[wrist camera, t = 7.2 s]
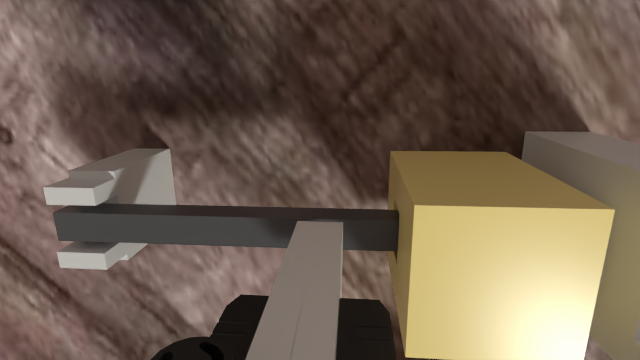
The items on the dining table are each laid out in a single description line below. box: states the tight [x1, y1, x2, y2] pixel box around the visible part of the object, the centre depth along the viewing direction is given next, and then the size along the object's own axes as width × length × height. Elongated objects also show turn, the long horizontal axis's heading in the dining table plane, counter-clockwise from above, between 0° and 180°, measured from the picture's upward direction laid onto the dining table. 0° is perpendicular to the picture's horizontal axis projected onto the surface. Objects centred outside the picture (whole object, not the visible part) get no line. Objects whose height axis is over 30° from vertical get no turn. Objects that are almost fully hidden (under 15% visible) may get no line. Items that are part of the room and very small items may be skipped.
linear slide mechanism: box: [43, 131, 640, 360], centre depth 15 cm, size 23×6×11 cm, turn 90°
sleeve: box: [387, 151, 615, 360], centre depth 14 cm, size 5×5×7 cm
